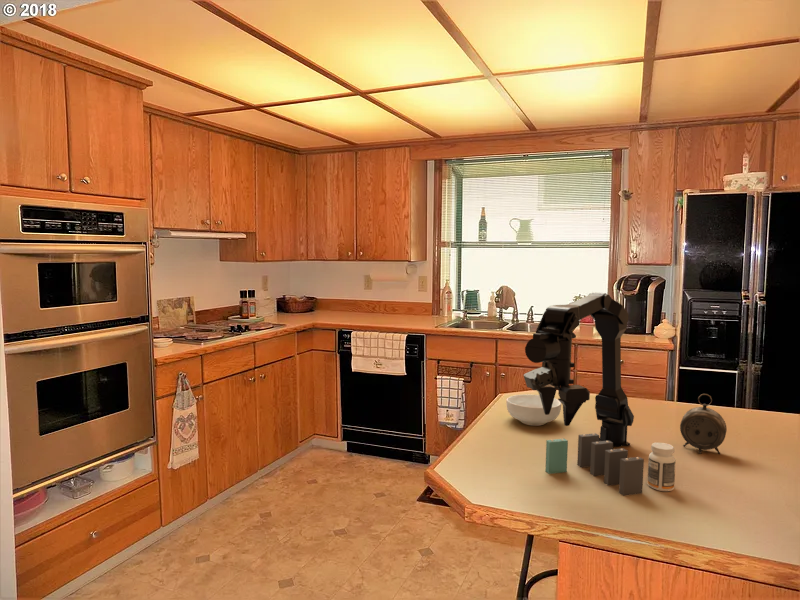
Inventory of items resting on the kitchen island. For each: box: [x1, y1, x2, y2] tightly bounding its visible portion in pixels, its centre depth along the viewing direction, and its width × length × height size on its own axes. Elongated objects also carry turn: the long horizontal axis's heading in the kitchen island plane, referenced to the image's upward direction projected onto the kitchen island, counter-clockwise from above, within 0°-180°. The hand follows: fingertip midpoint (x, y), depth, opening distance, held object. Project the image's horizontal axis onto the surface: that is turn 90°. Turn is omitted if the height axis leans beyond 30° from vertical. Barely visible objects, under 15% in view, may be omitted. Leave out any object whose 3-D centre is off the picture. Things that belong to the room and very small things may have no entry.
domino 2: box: [576, 432, 600, 468], centre depth 141 cm, size 5×2×8 cm, turn 105°
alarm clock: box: [679, 393, 728, 455], centre depth 151 cm, size 11×5×16 cm, turn 56°
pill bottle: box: [647, 441, 677, 492], centre depth 129 cm, size 6×6×10 cm
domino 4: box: [603, 448, 629, 487], centre depth 131 cm, size 5×2×8 cm, turn 105°
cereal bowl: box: [505, 393, 562, 427], centre depth 177 cm, size 17×17×7 cm
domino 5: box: [618, 456, 645, 497], centre depth 126 cm, size 5×2×8 cm, turn 105°
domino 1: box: [545, 438, 569, 475], centre depth 137 cm, size 5×2×8 cm, turn 105°
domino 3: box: [589, 441, 614, 477], centre depth 136 cm, size 5×2×8 cm, turn 105°
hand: (556, 419), depth 137 cm, fingers open, 9 cm apart
